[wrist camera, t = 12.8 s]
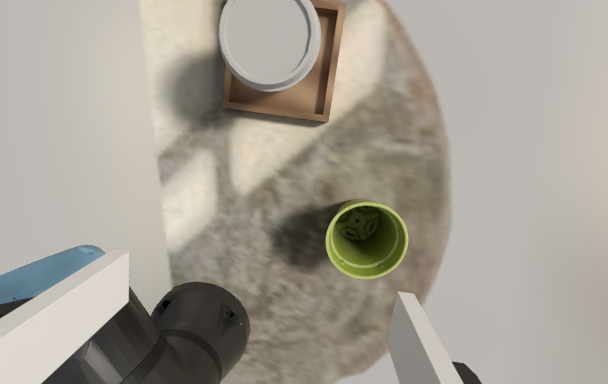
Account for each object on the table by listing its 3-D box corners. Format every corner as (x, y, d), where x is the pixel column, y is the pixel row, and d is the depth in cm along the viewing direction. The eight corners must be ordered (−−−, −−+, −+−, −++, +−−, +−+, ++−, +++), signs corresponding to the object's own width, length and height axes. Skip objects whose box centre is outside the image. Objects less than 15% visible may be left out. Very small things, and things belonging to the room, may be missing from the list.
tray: (327, 122, 41) (328, 122, 39) (227, 108, 41) (222, 107, 39) (344, 10, 38) (346, 3, 36) (236, -5, 38) (231, -12, 36)
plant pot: (340, 176, 42) (345, 189, 34) (402, 202, 43) (422, 221, 34) (314, 235, 44) (312, 261, 36) (373, 259, 45) (386, 290, 36)
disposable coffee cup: (240, 91, 40) (207, 79, 28) (251, 12, 37) (221, -39, 26) (312, 106, 40) (309, 99, 28) (327, 27, 37) (331, -17, 26)
